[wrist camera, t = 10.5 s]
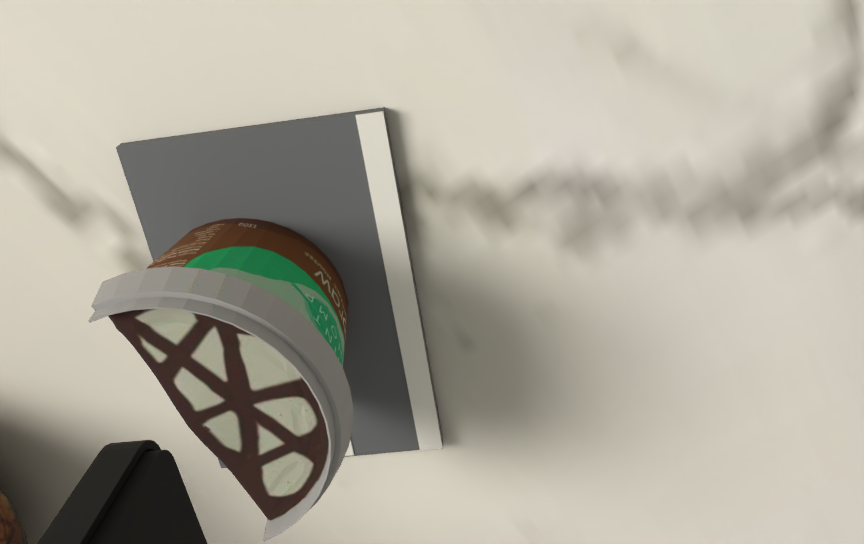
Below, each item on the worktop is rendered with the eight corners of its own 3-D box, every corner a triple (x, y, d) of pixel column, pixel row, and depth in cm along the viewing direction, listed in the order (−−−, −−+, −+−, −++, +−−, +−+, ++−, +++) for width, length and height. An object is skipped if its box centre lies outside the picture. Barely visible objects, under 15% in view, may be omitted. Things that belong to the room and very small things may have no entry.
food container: (420, 358, 40) (405, 498, 31) (313, 403, 42) (271, 550, 33) (287, 143, 36) (225, 235, 27) (172, 202, 37) (78, 308, 28)
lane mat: (384, 107, 35) (383, 111, 35) (442, 440, 43) (442, 448, 43) (121, 143, 37) (115, 147, 36) (224, 460, 44) (221, 468, 44)
